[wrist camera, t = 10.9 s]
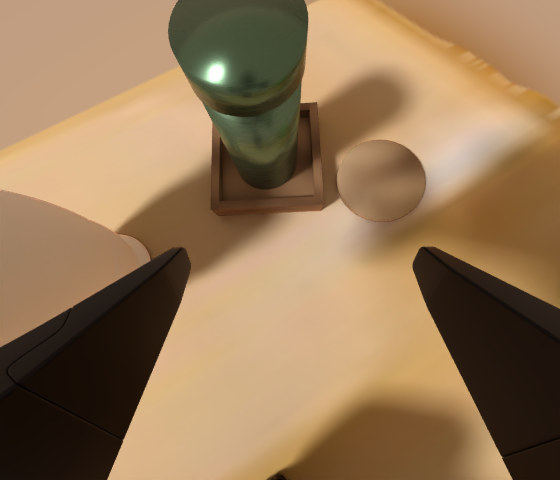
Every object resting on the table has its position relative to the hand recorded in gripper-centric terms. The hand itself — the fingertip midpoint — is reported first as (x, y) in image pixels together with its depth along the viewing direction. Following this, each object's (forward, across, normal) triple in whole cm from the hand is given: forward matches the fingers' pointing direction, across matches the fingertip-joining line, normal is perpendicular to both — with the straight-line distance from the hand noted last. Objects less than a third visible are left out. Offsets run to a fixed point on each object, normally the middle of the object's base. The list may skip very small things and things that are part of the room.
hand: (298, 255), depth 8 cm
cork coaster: (+16, -9, +3) cm, 19 cm away
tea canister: (+17, +3, +1) cm, 17 cm away
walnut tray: (+18, +3, +2) cm, 18 cm away
